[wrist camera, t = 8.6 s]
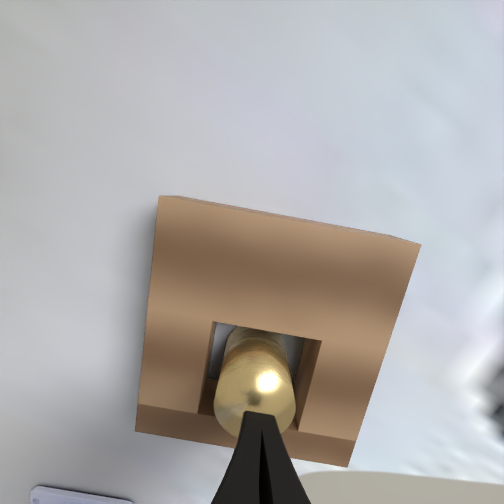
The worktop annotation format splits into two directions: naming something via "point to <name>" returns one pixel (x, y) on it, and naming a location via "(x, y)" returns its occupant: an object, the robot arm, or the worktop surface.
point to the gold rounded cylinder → (254, 379)
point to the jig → (268, 317)
